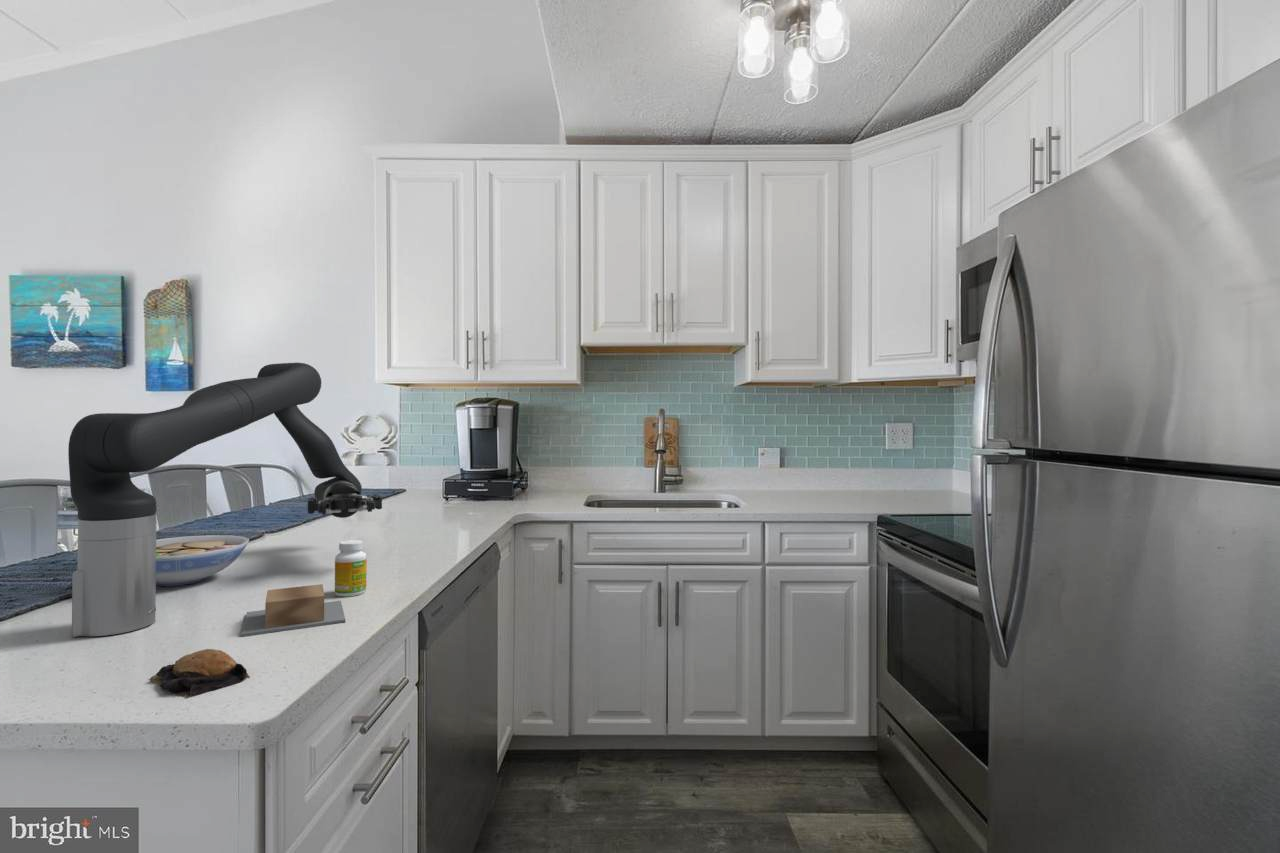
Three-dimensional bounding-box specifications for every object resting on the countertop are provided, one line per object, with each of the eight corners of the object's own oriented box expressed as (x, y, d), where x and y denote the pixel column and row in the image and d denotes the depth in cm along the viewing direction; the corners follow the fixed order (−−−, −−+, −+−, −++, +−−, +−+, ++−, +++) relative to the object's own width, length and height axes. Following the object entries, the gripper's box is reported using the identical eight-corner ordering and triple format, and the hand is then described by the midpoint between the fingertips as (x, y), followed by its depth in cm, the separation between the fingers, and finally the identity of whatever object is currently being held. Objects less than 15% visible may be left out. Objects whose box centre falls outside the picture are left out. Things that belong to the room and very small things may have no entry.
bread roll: (143, 684, 74) (143, 655, 74) (221, 662, 81) (221, 635, 81) (178, 707, 68) (178, 675, 68) (258, 681, 75) (258, 651, 75)
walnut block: (265, 628, 92) (265, 602, 92) (267, 614, 98) (267, 590, 98) (324, 620, 96) (324, 595, 96) (322, 607, 102) (322, 584, 102)
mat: (241, 636, 89) (241, 633, 89) (246, 614, 100) (247, 612, 100) (345, 622, 96) (345, 619, 96) (340, 602, 107) (340, 600, 107)
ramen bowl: (251, 587, 116) (251, 545, 116) (93, 606, 103) (93, 559, 103) (247, 562, 137) (247, 527, 137) (115, 576, 124) (115, 536, 124)
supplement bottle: (353, 598, 110) (354, 545, 110) (327, 596, 111) (328, 543, 111) (372, 590, 115) (372, 539, 115) (347, 588, 116) (348, 538, 116)
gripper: (306, 483, 133) (307, 491, 119) (376, 480, 140) (385, 488, 126) (306, 517, 133) (307, 529, 119) (376, 512, 140) (385, 523, 126)
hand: (347, 508), depth 123 cm, fingers open, 8 cm apart
